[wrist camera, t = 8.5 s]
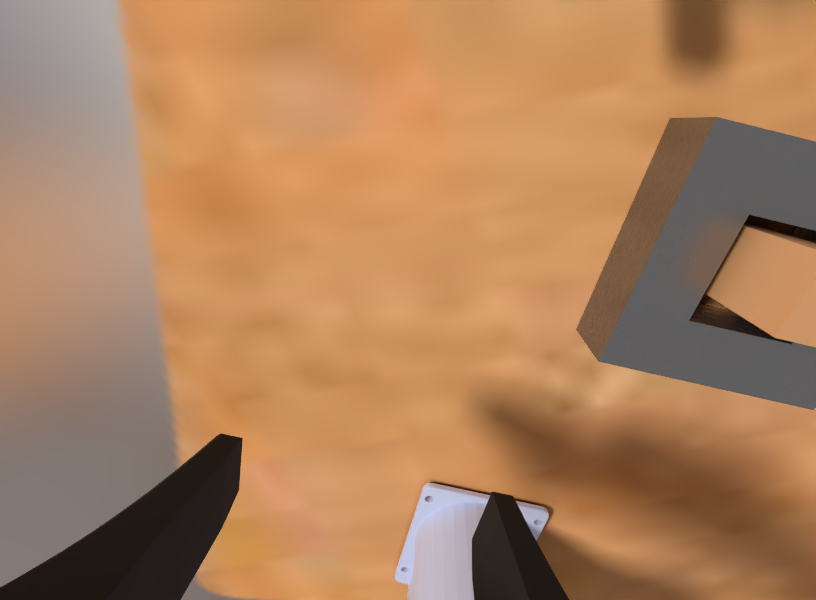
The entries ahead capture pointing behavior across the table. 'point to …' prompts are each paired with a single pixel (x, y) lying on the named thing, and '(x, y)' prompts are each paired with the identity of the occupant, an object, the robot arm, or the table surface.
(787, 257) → the tan wooden block
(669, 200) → the grey square frame
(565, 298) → the table surface
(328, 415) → the table surface
